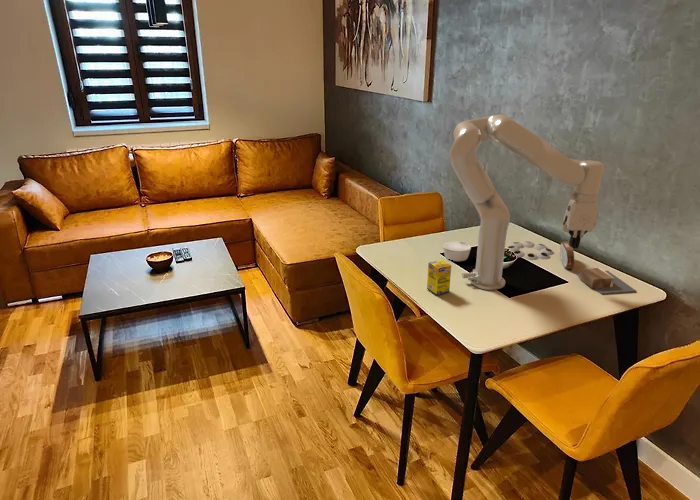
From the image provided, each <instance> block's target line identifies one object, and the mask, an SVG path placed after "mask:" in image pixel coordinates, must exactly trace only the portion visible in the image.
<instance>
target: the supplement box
mask: <svg viewBox="0 0 700 500" xmlns="http://www.w3.org/2000/svg"><path fill="white" fill-rule="evenodd" d="M427 266H428V267H427V284H426V290H427V289H428V290H429V292H430V291H431V292H432V293H431V292H430V293H431V294H433V295H434V294H435V297H436V296H437V295H438V296H440V295H444V294H448V293H450V286H451V277H452V274H451V273H452V265H451V264H450V263H449V262H446V261H445V260H443V259H438V260H435V261H429V262H428V265H427ZM428 290H427V291H428Z"/></svg>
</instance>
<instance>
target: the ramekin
mask: <svg viewBox="0 0 700 500" xmlns="http://www.w3.org/2000/svg"><path fill="white" fill-rule="evenodd" d="M442 247H443V251H444V252H443V255H444V256H445V259H447V260H448V259H450V260H449V261H451V260H453V261H452V262H464V261H466V260H467V259H468V258H469V256H470V252H471V250H472V247H471V245H470V244H468V243H466V242H465V241H464V242H463V241H457V240H452V241H447V242H445V243H443V246H442Z"/></svg>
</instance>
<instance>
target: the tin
mask: <svg viewBox="0 0 700 500" xmlns="http://www.w3.org/2000/svg"><path fill="white" fill-rule="evenodd" d="M569 241H570V240H569ZM569 241H568V240H567V241H561V242H560V251H559V257H560V261H561V263H562V265H563V267H564V269H571V270H572V269H574V266H575V252H574V248H572V247H571V246H570V245H569Z"/></svg>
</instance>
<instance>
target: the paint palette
mask: <svg viewBox="0 0 700 500" xmlns="http://www.w3.org/2000/svg"><path fill="white" fill-rule="evenodd" d="M506 248H507V249H509V250H510V251H512V252H513V253H514V254H515V255H516V256H518V257H517V258H524V259H525V260H529V261H536V260H540V259H541V260H549V259H551V256H552V255H555V252H554V251H553V250H552V249H550V248H548V247H547V245H545V244H543V243H536V244H535V243H534V242H532V241H524V242H522V243H521V242H520V241H519V242H518V241H515V242H511V244H510V245H509V246H507V247H506ZM524 248H528V249H530V248H531V249H534V250H537V251H538V252H537V253H536V254H535V253H533V252H528V253H525V252H524V251H522V250H520V249H524ZM512 252H511V253H512ZM515 252H516V253H515ZM531 256H532V257H531Z"/></svg>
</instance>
